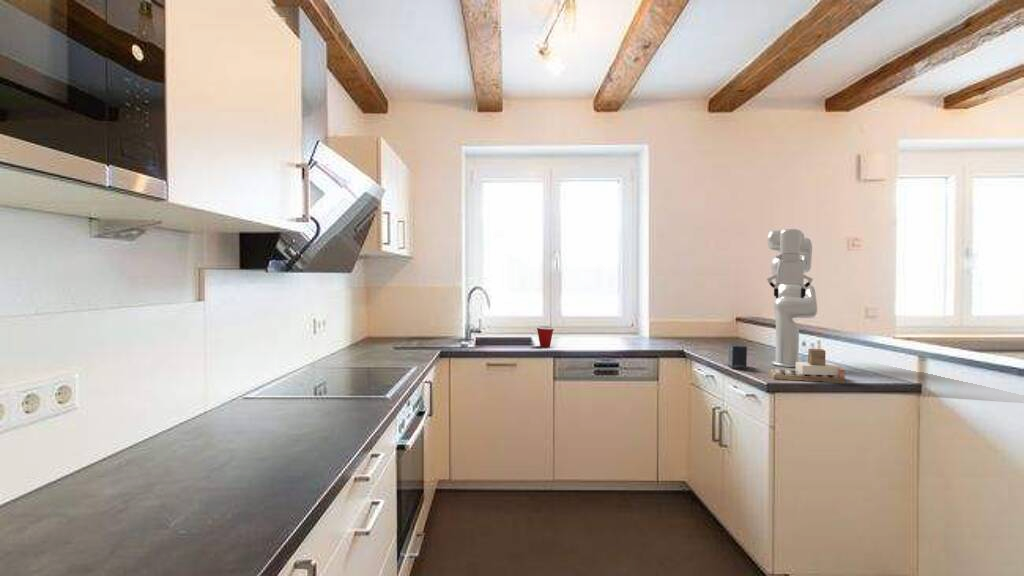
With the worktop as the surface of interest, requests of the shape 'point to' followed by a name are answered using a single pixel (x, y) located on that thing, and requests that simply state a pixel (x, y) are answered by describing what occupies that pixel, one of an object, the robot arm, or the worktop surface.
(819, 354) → the walnut block
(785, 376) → the roller bed
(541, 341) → the plastic cup
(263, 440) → the worktop surface
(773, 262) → the robot arm
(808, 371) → the slab
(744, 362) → the small box
